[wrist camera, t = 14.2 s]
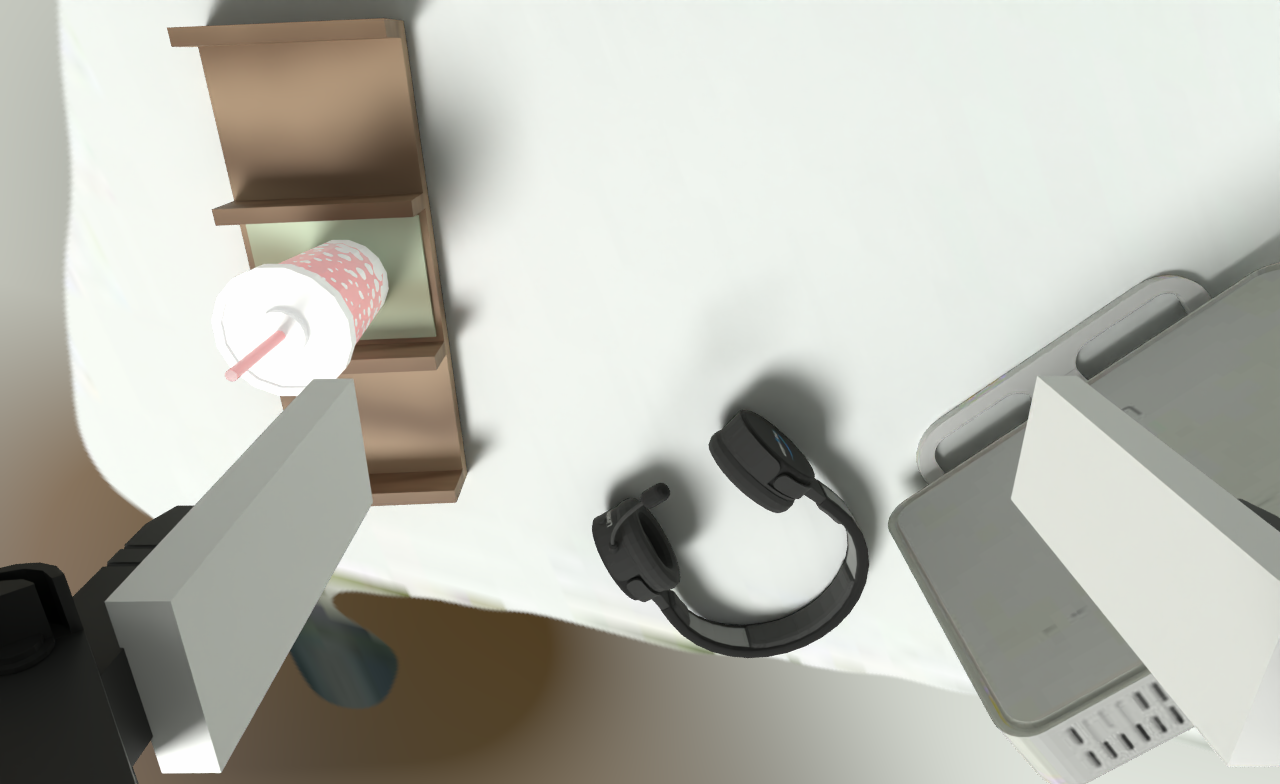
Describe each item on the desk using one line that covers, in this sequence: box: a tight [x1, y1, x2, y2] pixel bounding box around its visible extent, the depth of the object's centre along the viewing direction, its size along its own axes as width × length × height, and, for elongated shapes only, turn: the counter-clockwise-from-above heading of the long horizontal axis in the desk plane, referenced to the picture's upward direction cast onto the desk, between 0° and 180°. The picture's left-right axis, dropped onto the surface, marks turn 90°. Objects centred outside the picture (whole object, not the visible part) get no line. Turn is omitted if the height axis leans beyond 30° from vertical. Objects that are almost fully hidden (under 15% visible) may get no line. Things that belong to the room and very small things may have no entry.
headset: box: [592, 410, 869, 658], centre depth 48 cm, size 14×10×20 cm
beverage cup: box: [211, 240, 389, 396], centre depth 38 cm, size 6×6×14 cm
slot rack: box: [167, 18, 467, 506], centre depth 44 cm, size 26×10×4 cm, turn 3°
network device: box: [888, 262, 1280, 784], centre depth 40 cm, size 26×9×20 cm, turn 130°
